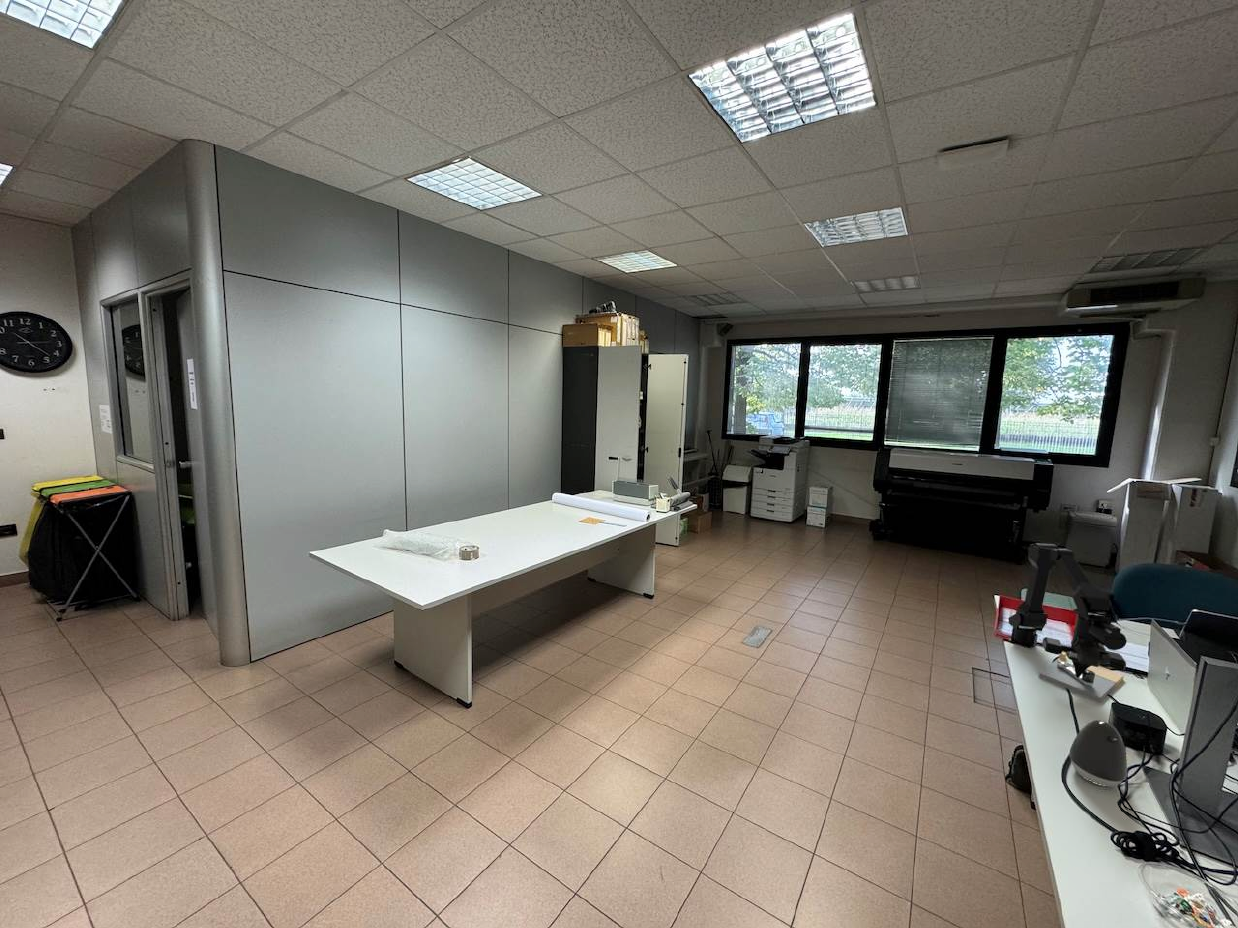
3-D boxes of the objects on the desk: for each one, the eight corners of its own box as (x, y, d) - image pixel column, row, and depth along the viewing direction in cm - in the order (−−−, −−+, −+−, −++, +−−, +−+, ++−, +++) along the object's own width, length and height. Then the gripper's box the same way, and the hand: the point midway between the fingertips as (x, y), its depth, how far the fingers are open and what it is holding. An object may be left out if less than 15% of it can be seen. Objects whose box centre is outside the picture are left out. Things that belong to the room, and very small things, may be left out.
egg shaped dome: (1079, 788, 119) (1090, 732, 116) (1058, 757, 129) (1068, 705, 126) (1134, 800, 116) (1146, 743, 113) (1108, 767, 125) (1119, 714, 123)
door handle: (1054, 664, 167) (1056, 653, 166) (1063, 664, 167) (1066, 653, 166) (1085, 686, 155) (1087, 674, 155) (1096, 686, 155) (1098, 674, 154)
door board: (1038, 676, 163) (1040, 666, 163) (1064, 657, 175) (1066, 648, 174) (1099, 702, 151) (1101, 691, 150) (1122, 679, 162) (1125, 669, 161)
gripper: (1053, 634, 152) (1044, 680, 155) (1137, 653, 143) (1126, 701, 146) (1046, 619, 161) (1037, 662, 164) (1124, 636, 152) (1113, 681, 155)
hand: (1077, 676), depth 157 cm, fingers closed
